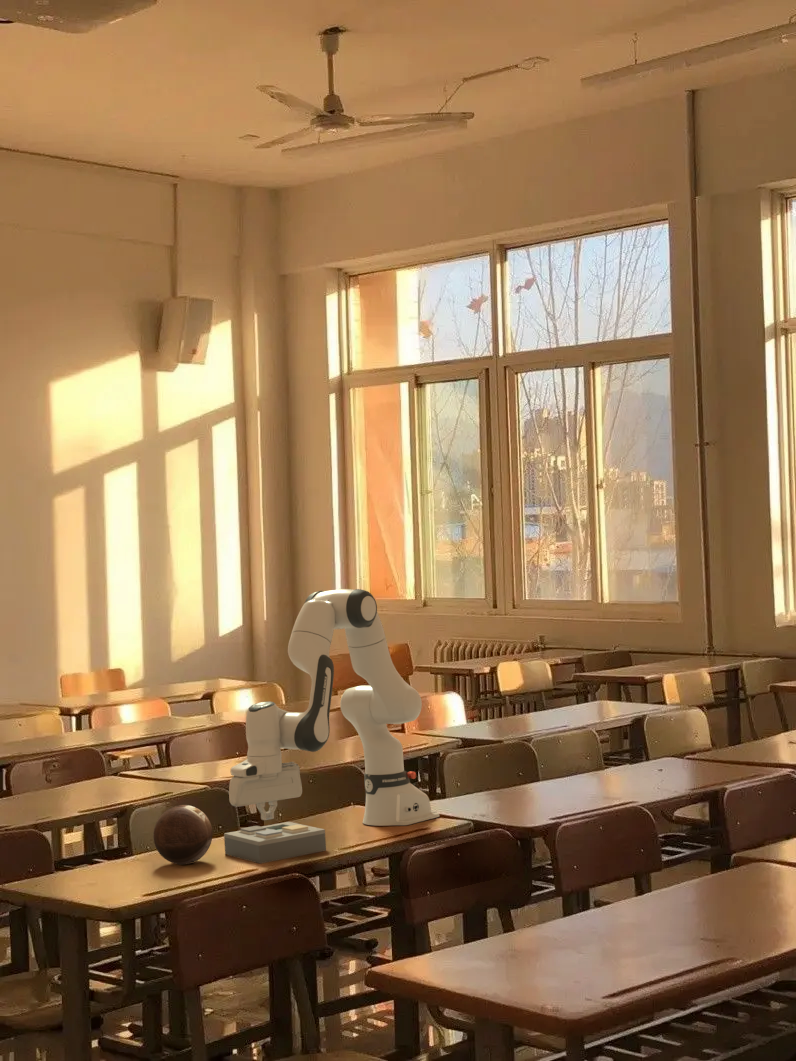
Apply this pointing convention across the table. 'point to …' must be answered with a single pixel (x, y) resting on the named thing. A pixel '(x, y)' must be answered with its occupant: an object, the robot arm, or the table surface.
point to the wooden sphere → (182, 834)
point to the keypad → (275, 844)
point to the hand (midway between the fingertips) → (267, 819)
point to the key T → (295, 829)
